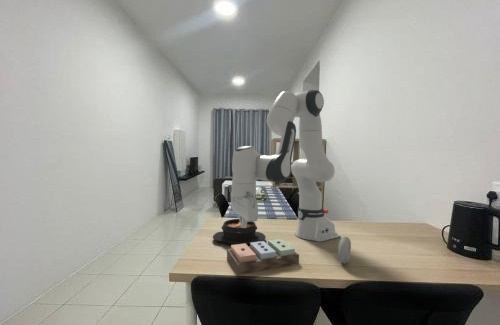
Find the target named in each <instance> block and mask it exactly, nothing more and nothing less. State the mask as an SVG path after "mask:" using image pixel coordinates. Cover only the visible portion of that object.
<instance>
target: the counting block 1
mask: <svg viewBox="0 0 500 325" xmlns="http://www.w3.org/2000/svg"><path fill="white" fill-rule="evenodd" d="M230 249H231V253H232V254H233V255H234V257H235V258H236V260H237V261H238V262H239V263H244V262H250V261H256V254H255V253H254V252H253V251H252V250H251V249H250V248H249V246H248V244H246V243H244V244H231V245H230Z"/></svg>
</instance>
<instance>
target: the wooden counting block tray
mask: <svg viewBox="0 0 500 325" xmlns="http://www.w3.org/2000/svg"><path fill="white" fill-rule="evenodd" d="M248 247H249V248H250V245H249V246H248ZM226 259H227V261H228V262H229V264H230V265H231V266H232V269H233V270H234V272H235V273H236V274H237V275H242V274H243V275H244V274H247V273H255V272H260V271H265V270H271V269H278V268H282V267H287V266H294V265H299V264H300V254H299V253H298V252H296V251H295V254H294V255H288V256H282V257H280V256H279V255H278V254H277V253H276V257H275V258H269V259H263V260H260V259H259V258H258V257H257V256H256V261H250V262H244V263H239V262H238V261H237V260H236V258H235V257H234V255H233V254H232V253H231V248H229V249H226Z"/></svg>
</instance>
